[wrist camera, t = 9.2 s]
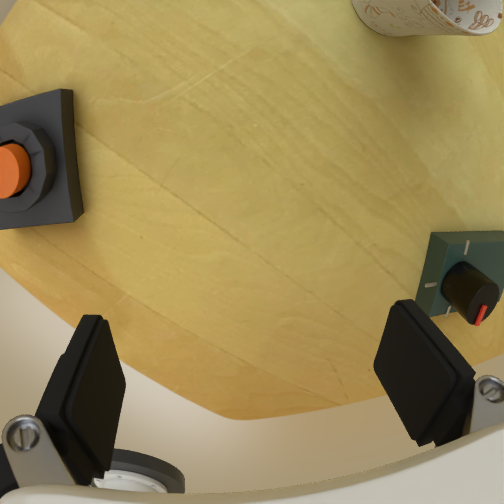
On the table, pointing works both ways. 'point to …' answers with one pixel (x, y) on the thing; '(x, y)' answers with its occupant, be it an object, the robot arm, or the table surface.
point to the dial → (470, 292)
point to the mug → (430, 16)
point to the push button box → (43, 160)
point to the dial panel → (451, 252)
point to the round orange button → (13, 169)
